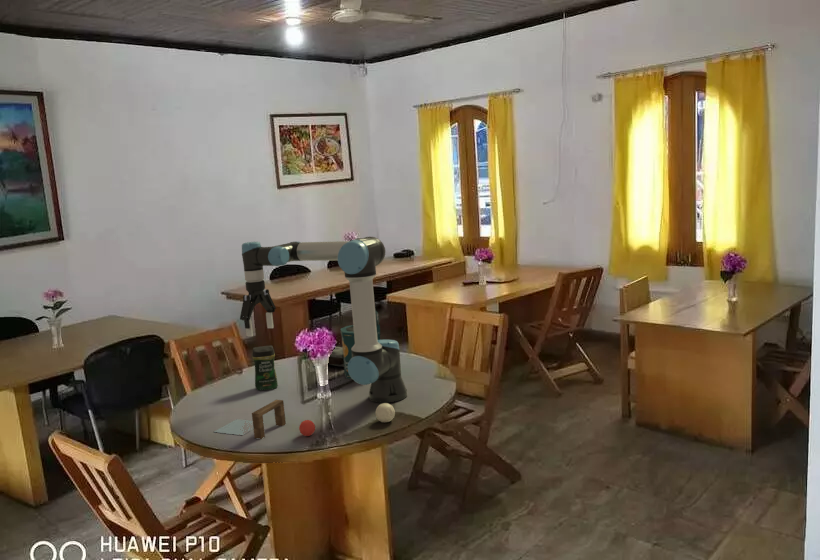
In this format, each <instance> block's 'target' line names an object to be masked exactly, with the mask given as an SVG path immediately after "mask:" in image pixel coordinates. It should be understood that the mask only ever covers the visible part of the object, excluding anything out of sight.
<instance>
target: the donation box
mask: <svg viewBox="0 0 820 560" xmlns="http://www.w3.org/2000/svg"><path fill="white" fill-rule="evenodd" d="M375 316H376V328H377V340H381V325H380V323H381V322H380V314H379V312H378V311H377V310H376V309H375ZM340 335H341V342H342V343H341V344H342V348H343V356H344V367H343V372H344V373H343V374H344V375H345V378H346V379H349V380H353V379H352V378H351V377H350V375H349V373H348V368H347V367H348V362H349V361H350V359H351V358H352V351H351V348H352V347H353V346H354V344H355V338H354V327H353V324H352V325H350V324H349V325H346V326H344V327H341V328H340Z"/></svg>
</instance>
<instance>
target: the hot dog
mask: <svg viewBox="0 0 820 560" xmlns="http://www.w3.org/2000/svg"><path fill="white" fill-rule="evenodd" d="M334 347H335V349H334V350H333V352H332V354H331V355H330V357H329V363H328V364H329V366H336V367H342V368H345V367H344V356H343V346H334ZM328 364H327V365H328Z"/></svg>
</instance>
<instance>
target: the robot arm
mask: <svg viewBox="0 0 820 560" xmlns="http://www.w3.org/2000/svg"><path fill="white" fill-rule="evenodd" d="M241 256H242V257H241V258H242V263H243V272H244V280H245V281H246V282H245V291H247V293H248V294H247V295H246V294H244V295H242V305H241V311H240V315H239V320H240V321H244V322H243V323H244V328H245V334H246V337H254V331H253V322H252V319H251V318H252V315H253V312H254V309H255V306H257V305H258V304H260V305H262V307H263V308H264V310H265V311H266V312H265V320H266V327H267V328H266V329H274V326H275V325H274V316H273V315H274V313H275V312H276V309H277V308H276V307H277V306H275V303H274V301H273V299H272V296H271V294H270V290H269V289H268V288H267V289H266V284H265V280H264V279H265V274H264V272H265V271H264V267H267V266H268V267H279V266H285V265H287V263H290V262H303V261H307V262H309V261H315V262H316V261H317V262H318V261H321V262H323V261H325V262H326V261H337V263H338V266H339V268H340V269H341V270H342V271H343V272H344V278H345V279H346V280H347V281H348V282H349V293H350V303H351V314H352V315H351V317H352V325H353V327H354V338H355V344H354V346H353V347H352V348H351V351H352V358H351V359H350V361H349V362H348V367H347V368H348V373H349V375H350V377H351V378H352V379H351V380H353V381H354V382H355V383H357V384H359V385H362V386H367V385H370V388H369V391H368V396H369V397H368V398H369V400H370V401H372V402H374V403H380V404H383V403H388V404H389V403H395V402H398V401H402V400H404V399H406V398H407V397H408V389H407V387H406V384H405V382H404V380H403V378H402V377H403V376H402V367H401V364H402V363H401V354H400V353H401V352H400V350H401V349H400V345H399V342H398V341H397V340H395V339H380V340H377V328H376V316H375V310H376V308H375V307H376V305H375V294H374V282H373V280H374V278H375V277H376V276H377V269H376V267H377V266H379V265H380V264H381V263H382V262H383V261H384V259H385V257H386V247H385V245H384V242H383V241H381V240H380V239H379V238H378V237H375V236H366V237H360V238H359V237H357V238H355V239H352V240H345V241H343V240H342V241H339V240H338V241H308V242H307V241H305V242H303V241H290V242H287V243H283V244H278V245H274V246H262V245H261V242H260V241H247V242H244V243H242V244H241ZM406 396H407V397H406ZM405 397H406V398H405ZM394 401H395V402H394Z"/></svg>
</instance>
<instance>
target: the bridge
mask: <svg viewBox="0 0 820 560" xmlns="http://www.w3.org/2000/svg"><path fill="white" fill-rule="evenodd" d="M273 410H274V411H273ZM271 411H273V412H274V422H275V426H276V425H278V426H277V427H284V426H286V425H285V424H287V423H286V413H285V403H284V400H283V399H275V400H273V401H272V402H269V403H268V404H266V405H264V406H263V407H261V408H259V409H256V410H255V411H252V412H251V418H252V420H251V421H253V436H254V439H256V438H260V439H259V440H263V439H264V438H266V433H265V425H264V424H265V423H263V422H264V415H265V414H268V413H269V412H271ZM263 437H264V438H263ZM262 438H263V439H262Z"/></svg>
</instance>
